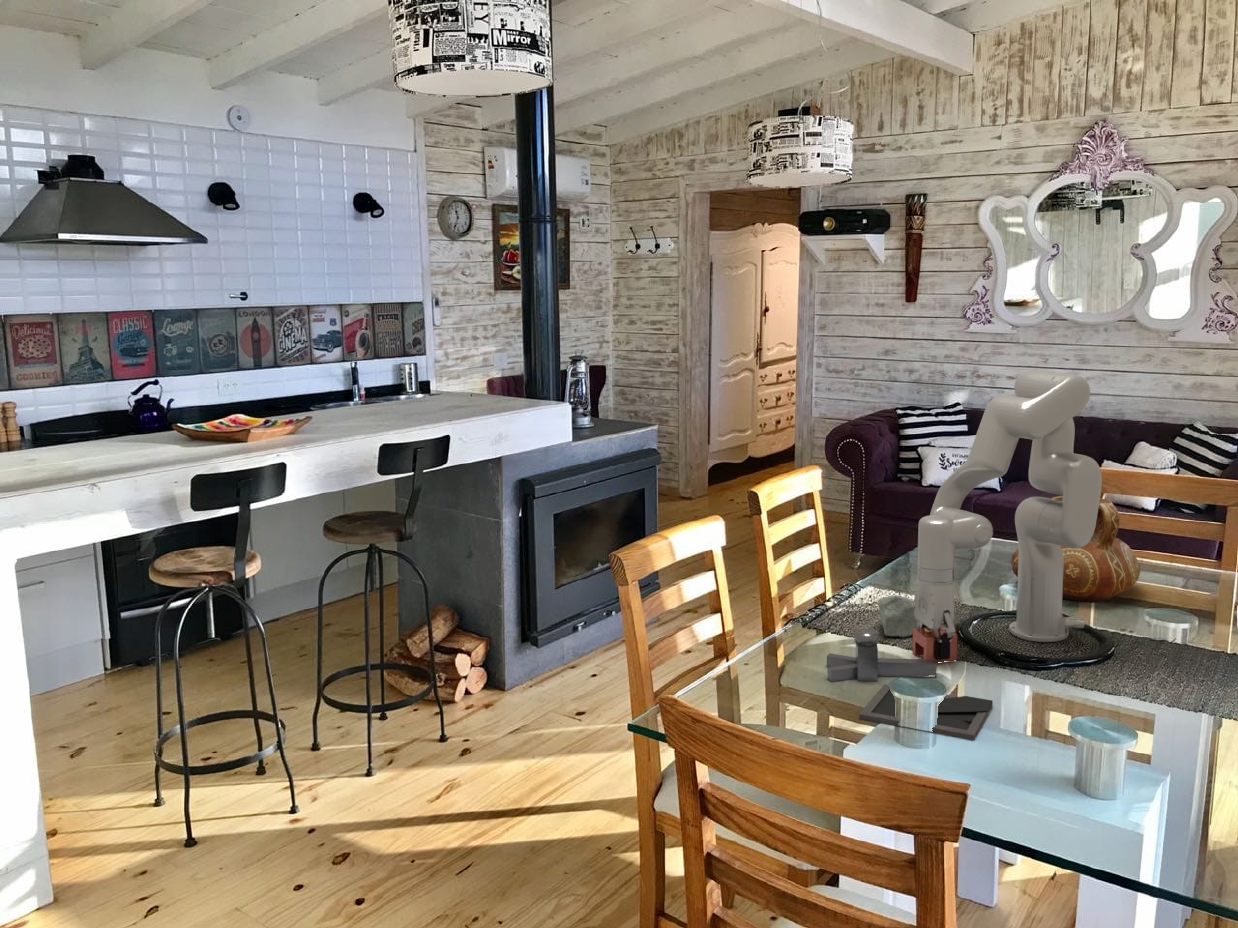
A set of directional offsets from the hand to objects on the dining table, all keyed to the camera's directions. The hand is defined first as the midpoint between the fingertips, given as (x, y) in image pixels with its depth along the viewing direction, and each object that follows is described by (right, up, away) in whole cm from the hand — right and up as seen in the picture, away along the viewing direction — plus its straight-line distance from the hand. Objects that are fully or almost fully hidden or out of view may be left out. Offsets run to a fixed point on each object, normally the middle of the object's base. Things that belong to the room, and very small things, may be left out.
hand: (934, 652), depth 226 cm
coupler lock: (0, -1, 0) cm, 1 cm away
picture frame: (-10, -7, -27) cm, 29 cm away
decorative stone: (-3, +2, +18) cm, 18 cm away
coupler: (-13, -3, -7) cm, 16 cm away
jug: (+48, +8, +42) cm, 64 cm away
